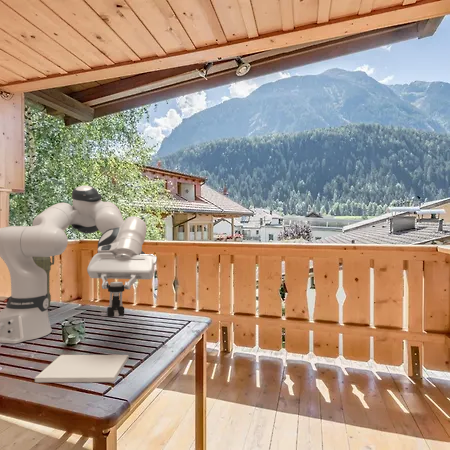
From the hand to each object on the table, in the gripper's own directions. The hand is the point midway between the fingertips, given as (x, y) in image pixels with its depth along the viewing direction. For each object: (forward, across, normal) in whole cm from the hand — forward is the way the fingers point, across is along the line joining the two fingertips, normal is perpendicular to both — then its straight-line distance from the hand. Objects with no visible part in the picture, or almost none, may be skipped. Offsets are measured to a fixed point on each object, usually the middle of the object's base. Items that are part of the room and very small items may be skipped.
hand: (115, 288), depth 97 cm
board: (+20, +6, -11) cm, 23 cm away
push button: (+6, +1, -6) cm, 9 cm away
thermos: (-26, +53, -53) cm, 79 cm away
